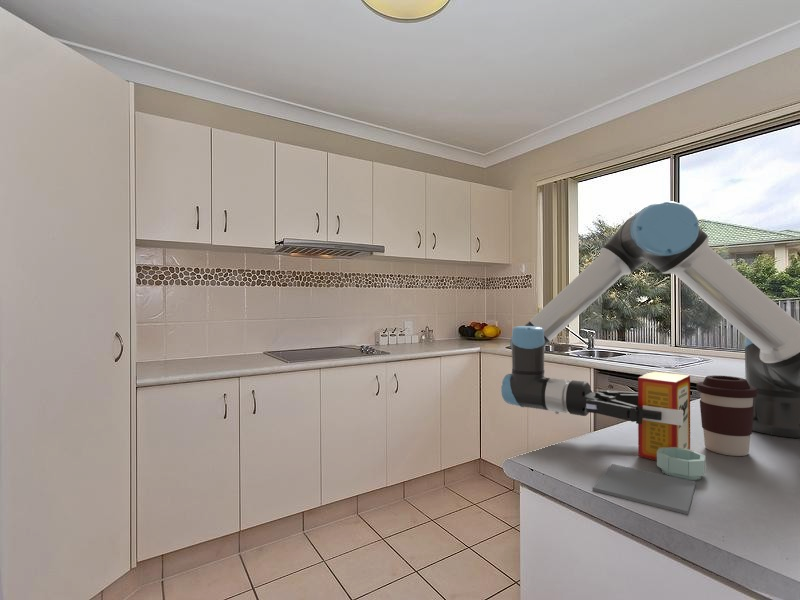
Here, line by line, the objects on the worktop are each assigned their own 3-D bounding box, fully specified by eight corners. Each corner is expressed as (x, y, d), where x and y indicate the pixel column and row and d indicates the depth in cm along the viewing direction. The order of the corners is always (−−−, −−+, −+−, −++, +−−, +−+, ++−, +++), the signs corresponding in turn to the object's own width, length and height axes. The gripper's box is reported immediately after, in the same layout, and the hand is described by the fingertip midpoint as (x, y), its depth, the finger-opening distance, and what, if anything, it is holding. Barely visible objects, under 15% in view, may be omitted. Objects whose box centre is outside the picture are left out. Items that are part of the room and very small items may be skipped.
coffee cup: (699, 439, 96) (698, 372, 96) (757, 449, 90) (756, 377, 90) (694, 452, 88) (694, 378, 88) (757, 463, 82) (757, 384, 82)
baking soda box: (654, 444, 92) (654, 369, 92) (690, 452, 87) (690, 373, 87) (638, 456, 86) (638, 375, 85) (676, 465, 81) (675, 380, 81)
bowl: (706, 472, 78) (706, 452, 78) (703, 485, 72) (703, 464, 72) (661, 463, 82) (660, 444, 82) (654, 474, 77) (654, 455, 77)
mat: (695, 484, 73) (695, 481, 73) (688, 514, 63) (687, 511, 63) (611, 466, 81) (611, 463, 81) (592, 490, 71) (592, 487, 71)
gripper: (584, 403, 107) (691, 418, 93) (552, 424, 89) (679, 447, 75) (584, 373, 107) (691, 383, 93) (551, 388, 89) (679, 403, 75)
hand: (686, 411), depth 84 cm, fingers closed on baking soda box, 10 cm apart
